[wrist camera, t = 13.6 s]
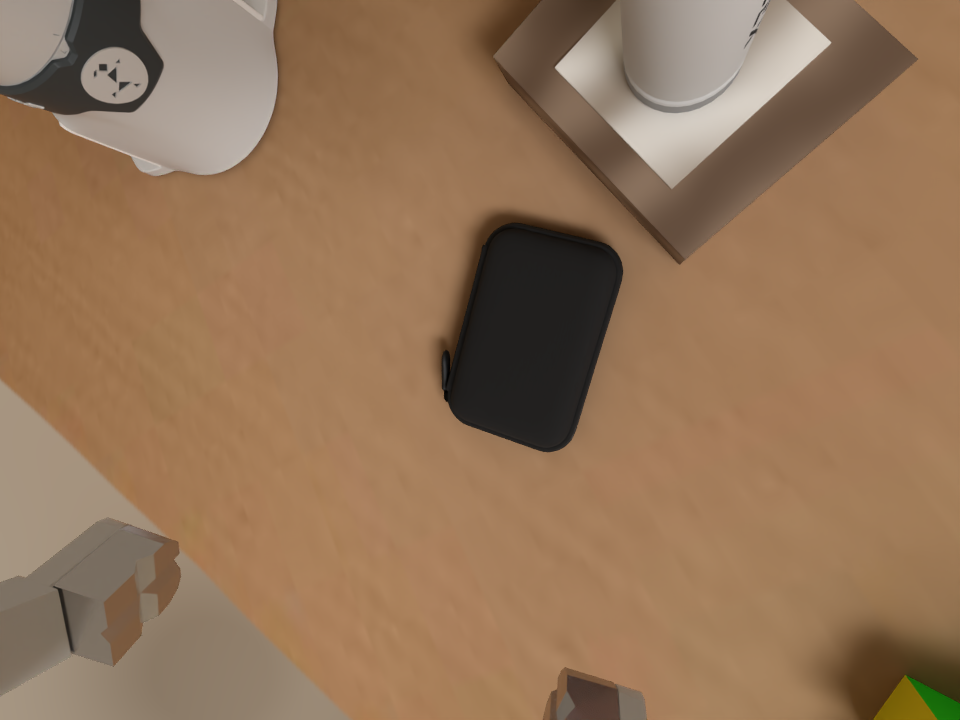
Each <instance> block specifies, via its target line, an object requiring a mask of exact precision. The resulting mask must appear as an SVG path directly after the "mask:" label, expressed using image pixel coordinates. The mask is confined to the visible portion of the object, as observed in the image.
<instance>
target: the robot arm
mask: <svg viewBox="0 0 960 720" xmlns="http://www.w3.org/2000/svg"><path fill="white" fill-rule="evenodd" d="M276 10H277V0H0V94H2V95H5V96H7V97H8V98H10V99H11V100H14V101H16V102H19V103H21V104H24V105H27V106H30V107H33V108H40V109H44V110H47V111H50V112H52V113H53V115H54V116H55V117H56V118H57V120H58V121H59V124H60V126H61V127H63V128H64V129H65V130H67V131H69V132H71V133H73V134H76V135H78V136H81V137H83V138H86V139H88V140H91V141H94V142H96V143H99V144H101V145H104V146H107V147H109V148H112V149H114V150H117V151H120V152H122V153H125V154H128V155H130V156H131V157H132V159H133V161H134V163H135V165H136V166H137V168H138V169H139V170H140V171H142V172H144V173H147V174H149V175H152V176H160V175H164V174H167V173H170V172H173V171H184V172H188V173H192V174H198V175H210V174H216V173H220V172H223V171H225V170H228V169H230V168H232V167H233V166H235V165H236V164H238V163H239V162H241V161H242V160H243V159H244V158H245V157H246V156H247V155H248V154H249V153H250V152H251V151H252V150H253V149H254V148H255V146H256V145H257V144H258V142H259V141H260V139H261V137H262V136H263V134H264V132H265V130H266V128H267V126H268V124H269V121H270V118H271V116H272V112H273V109H274V105H275V100H276V94H277V85H278V68H277V59H276V53H275V46H274V39H273V29H274V24H275V17H276ZM178 554H179V544H178V541H175V540H172V539H169V538H166V537H163V536H160V535H157V534H154V533H152V532H149V531H146V530H143V529H140V528H137V527H134V526H132V525H129V524H126V523H123V522H120V521H117V520H114V519H111V518H106V519H103V520H100V521H98V522H96V523H95V524H93V525H92V526H91V527H90V528H88V529H87V530H86V531H85V532H84V533H82V534H81V535H79V536H78V537H77V538H76V539H74V540H73V541H72V542H71V543H70V544H68V545H67V546H66V547H64V548H63V549H62V550H60V551H59V552H58V553H57V554H55V555H54V556H53V557H52V558H50V559H49V560H48V561H46V562H45V563H44V564H43V565H42V566H40V567H39V568H38V569H36V570H35V571H34V572H33V573H32V574H30V575H29V576H28V577H26V578H25V577H22V576H17V577H14V578H11V579H8V580H5V581H3V582H0V696H2V695H3V694H5V693H7V692H9V691H11V690H12V689H14V688H16V687H18V686H20V685H21V684H23V683H25V682H26V681H29V680H30V679H32V678H34V677H36V676H37V675H39V674H41V673H43V672H45V671H47V670H48V669H50V668H52V667H54V666H56V665H57V664H59V663H61V662H63V661H65V660H66V659H68V658H70V657H71V655H72V654H75V655H78V656H81V657H84V658H88V659H91V660H94V661H97V662H100V663H104V664H107V665H110V666H114V665H115V664H116V663H117V662H118V661H119V660H120V659H121V658H122V656H123V655H124V654H125V653H126V652H127V650H129V649H130V647H131V646H132V645H133V644H134V643H135V642H136V641H137V640H138V639H139V637H140V636H141V634H142V626H143V623H144V622H146V621H148V620H150V619H153V618H155V617H157V616H159V615H160V614H161V612H162V611H163V610H164V609H165V608H166V607H167V605H168V604H169V603H170V601H171V600H172V598H173V596H174V594H175V592H176V591H177V589H178V586H179V582H180V578H181V573H180V568H179V566H178V565H177V563H176V562H175V561H174V559H175V557H176V556H178ZM71 653H72V654H71ZM543 720H647V715H646V707H645V699H644V697H643V695H642V693H641V692H640V691H637V690H634V689H630V688H627V687H624V686H621V685H617V684H614V682H611V681H608V680H605V679H601V678H598V677H595V676H592V675H588V674H585V673H582V672H579V671H575V670H572V669H569V668H566V667H565V668H563V669H562V670H561V672H560V674H559V676H558V685H557V690H554V691H552V692H551V694H550V696H549V699H548V701H547V704H546V708H545V712H544V716H543Z"/></svg>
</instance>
